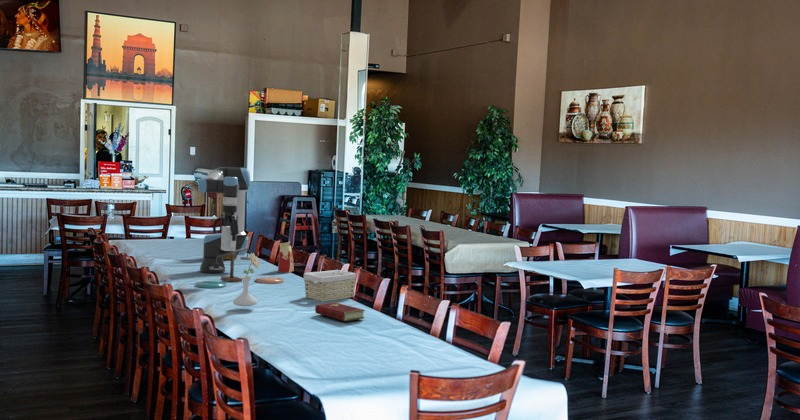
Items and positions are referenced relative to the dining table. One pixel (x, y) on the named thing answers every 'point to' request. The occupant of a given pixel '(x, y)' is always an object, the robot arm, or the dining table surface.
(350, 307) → the hardcover book
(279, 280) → the terracotta dish
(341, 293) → the storage basket
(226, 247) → the small box
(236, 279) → the balance
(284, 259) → the milk carton
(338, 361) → the dining table surface
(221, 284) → the teal dish
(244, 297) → the flower in vase
